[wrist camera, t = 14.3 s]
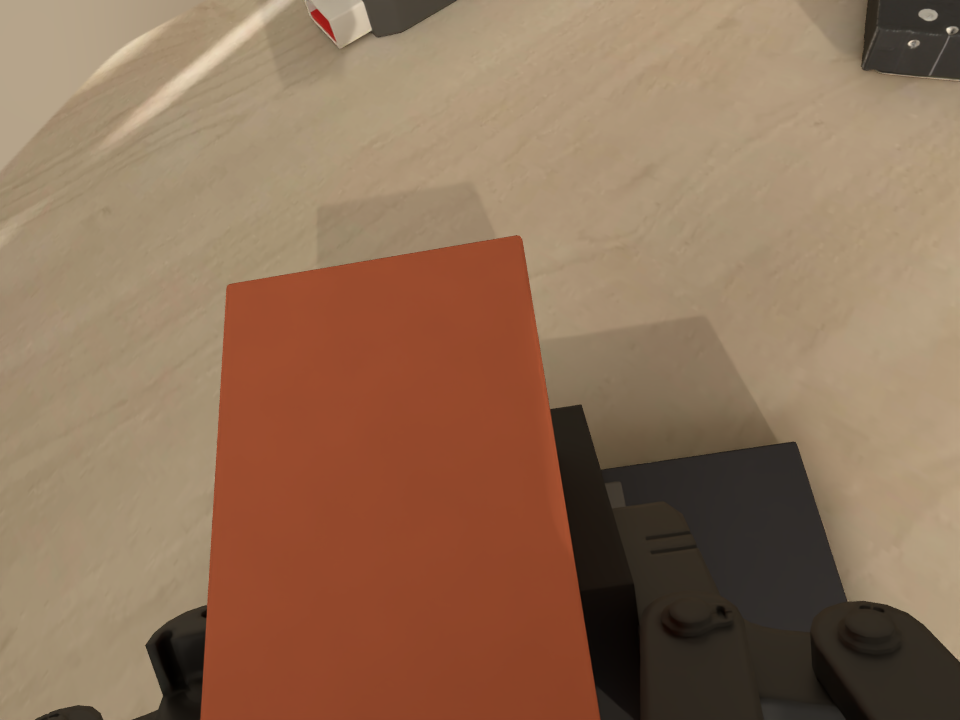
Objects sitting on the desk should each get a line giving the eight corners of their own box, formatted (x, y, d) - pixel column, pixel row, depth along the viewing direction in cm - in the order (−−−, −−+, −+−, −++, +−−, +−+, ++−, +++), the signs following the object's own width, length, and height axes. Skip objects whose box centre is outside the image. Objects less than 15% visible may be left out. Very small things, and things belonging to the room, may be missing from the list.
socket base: (228, 1008, 22) (159, 1056, 19) (246, 533, 29) (198, 502, 25) (937, 937, 21) (1006, 974, 17) (787, 455, 27) (815, 411, 24)
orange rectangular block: (454, 875, 16) (174, 1103, 5) (429, 543, 19) (225, 283, 9) (618, 857, 16) (654, 1059, 5) (563, 524, 19) (520, 233, 8)
